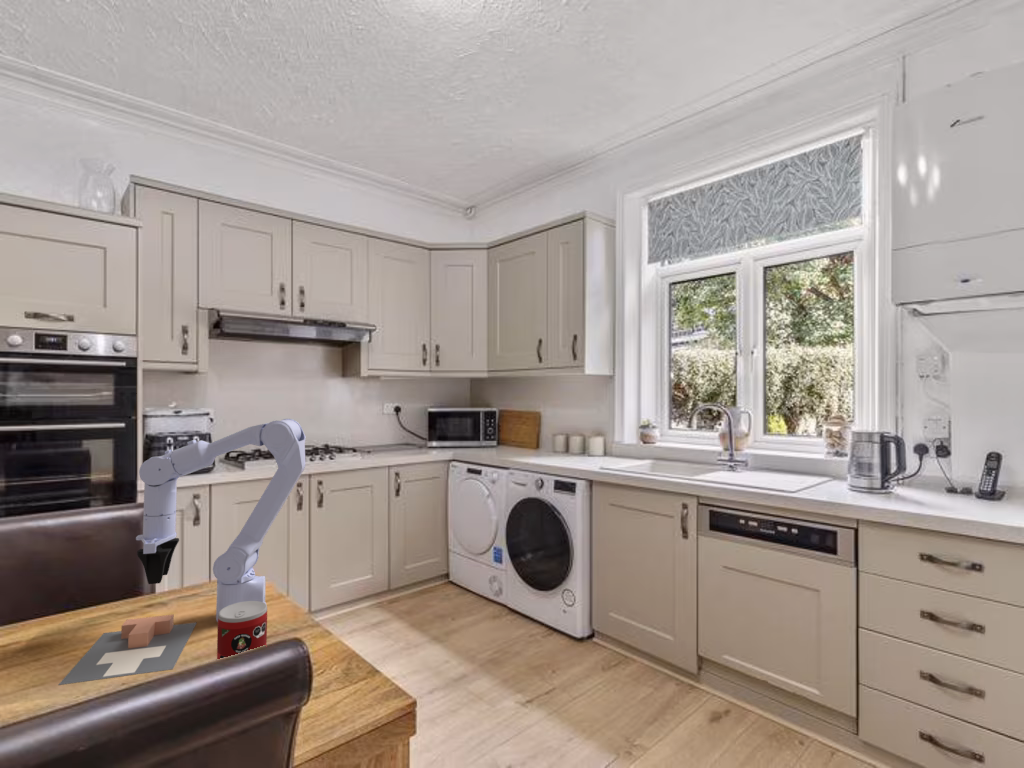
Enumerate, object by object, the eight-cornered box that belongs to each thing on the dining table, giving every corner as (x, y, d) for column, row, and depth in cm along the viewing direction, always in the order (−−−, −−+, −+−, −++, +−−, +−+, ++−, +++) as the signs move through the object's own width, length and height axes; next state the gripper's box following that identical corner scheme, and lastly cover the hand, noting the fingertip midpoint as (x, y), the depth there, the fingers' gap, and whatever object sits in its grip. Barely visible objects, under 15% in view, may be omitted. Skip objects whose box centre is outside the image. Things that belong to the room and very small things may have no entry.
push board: (196, 627, 111) (196, 622, 111) (172, 674, 92) (172, 669, 92) (103, 638, 106) (103, 633, 106) (57, 691, 87) (58, 684, 87)
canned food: (214, 689, 88) (215, 621, 88) (218, 666, 95) (220, 603, 96) (265, 680, 91) (267, 614, 91) (266, 658, 99) (267, 598, 99)
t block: (173, 626, 109) (173, 614, 109) (162, 644, 101) (163, 630, 101) (126, 632, 106) (126, 619, 106) (111, 650, 99) (112, 636, 99)
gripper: (147, 507, 118) (145, 570, 118) (125, 522, 104) (123, 593, 104) (184, 505, 121) (183, 567, 120) (168, 520, 107) (166, 589, 107)
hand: (158, 579), depth 112 cm, fingers open, 5 cm apart
